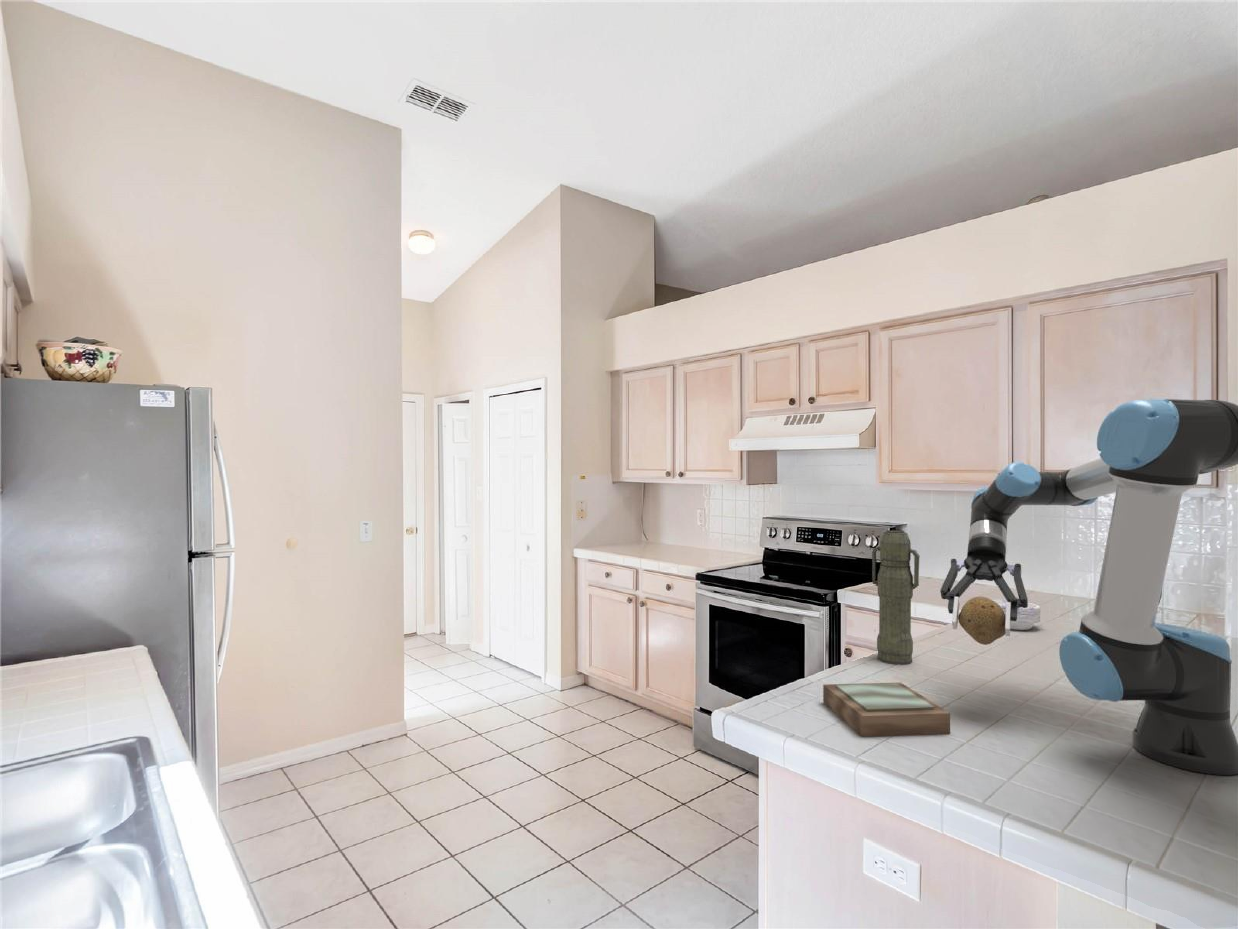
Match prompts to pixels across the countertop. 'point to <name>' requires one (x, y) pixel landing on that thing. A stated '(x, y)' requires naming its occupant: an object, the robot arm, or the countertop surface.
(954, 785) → the countertop surface
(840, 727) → the countertop surface
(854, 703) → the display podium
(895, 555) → the thermos
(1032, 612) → the paper bowls
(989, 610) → the brown rounded lump
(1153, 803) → the countertop surface
